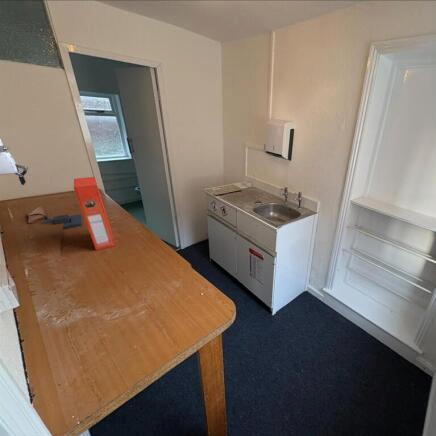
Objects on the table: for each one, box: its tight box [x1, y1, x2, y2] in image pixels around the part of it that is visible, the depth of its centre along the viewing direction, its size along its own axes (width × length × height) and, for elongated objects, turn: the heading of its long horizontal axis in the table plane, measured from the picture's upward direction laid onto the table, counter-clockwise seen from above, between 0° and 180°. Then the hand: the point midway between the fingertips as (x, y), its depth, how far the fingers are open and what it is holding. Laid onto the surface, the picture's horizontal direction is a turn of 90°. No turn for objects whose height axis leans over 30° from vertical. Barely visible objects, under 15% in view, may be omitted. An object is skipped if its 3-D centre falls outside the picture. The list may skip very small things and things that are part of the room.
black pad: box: [52, 214, 70, 226], centre depth 135 cm, size 6×6×4 cm
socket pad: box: [43, 213, 83, 230], centre depth 135 cm, size 16×16×2 cm
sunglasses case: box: [26, 206, 49, 224], centre depth 141 cm, size 18×7×7 cm, turn 49°
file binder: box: [73, 176, 116, 251], centre depth 114 cm, size 8×17×32 cm, turn 40°
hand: (9, 185), depth 115 cm, fingers open, 9 cm apart
